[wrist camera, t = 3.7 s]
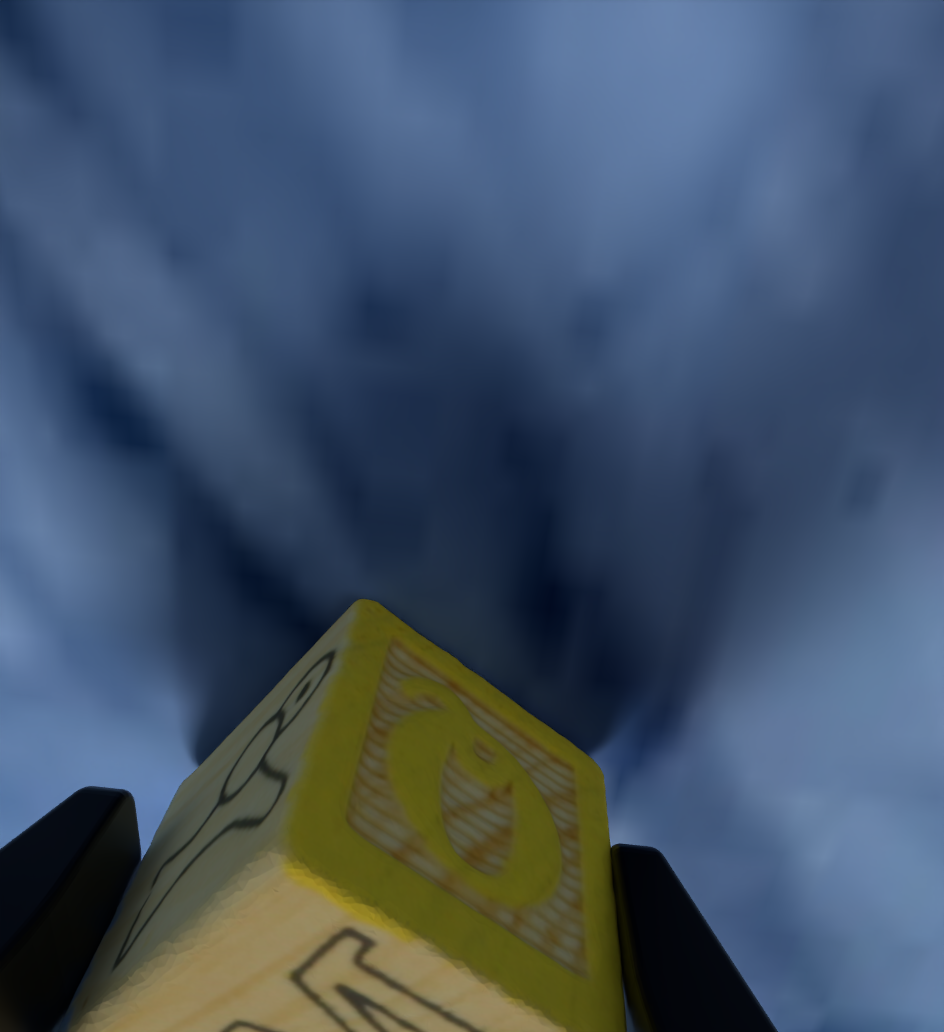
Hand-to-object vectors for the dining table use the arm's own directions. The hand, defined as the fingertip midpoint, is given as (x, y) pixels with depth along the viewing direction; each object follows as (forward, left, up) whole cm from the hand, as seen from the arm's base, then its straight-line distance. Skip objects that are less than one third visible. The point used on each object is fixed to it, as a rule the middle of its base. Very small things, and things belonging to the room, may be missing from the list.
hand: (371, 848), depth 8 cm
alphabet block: (0, 0, -1) cm, 1 cm away
